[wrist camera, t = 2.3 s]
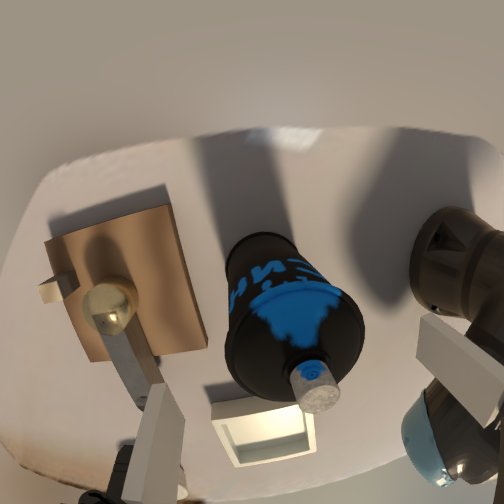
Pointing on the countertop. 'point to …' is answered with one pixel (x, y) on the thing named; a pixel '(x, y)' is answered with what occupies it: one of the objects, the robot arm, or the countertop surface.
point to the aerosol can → (288, 325)
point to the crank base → (129, 279)
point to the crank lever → (122, 334)
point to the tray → (262, 430)
